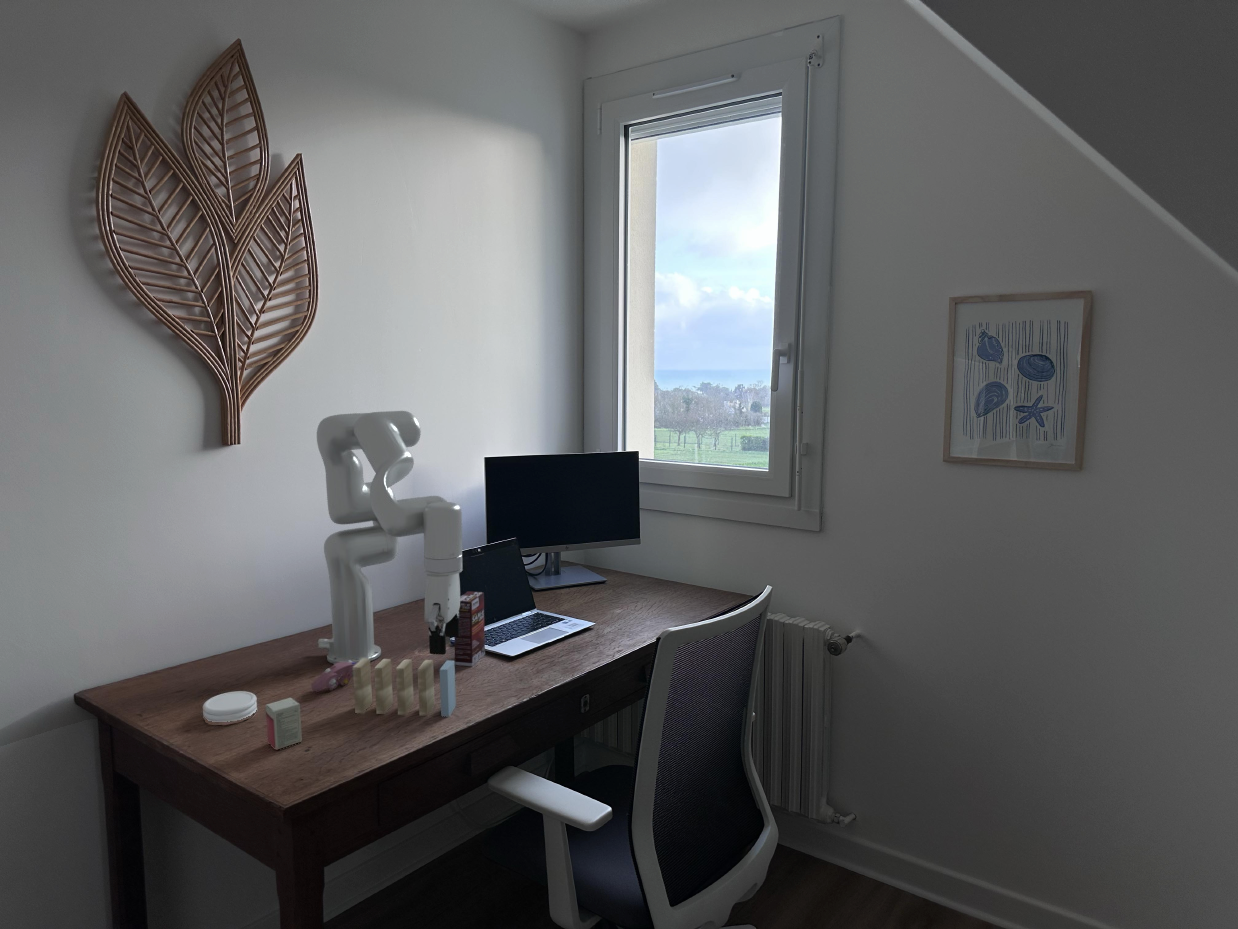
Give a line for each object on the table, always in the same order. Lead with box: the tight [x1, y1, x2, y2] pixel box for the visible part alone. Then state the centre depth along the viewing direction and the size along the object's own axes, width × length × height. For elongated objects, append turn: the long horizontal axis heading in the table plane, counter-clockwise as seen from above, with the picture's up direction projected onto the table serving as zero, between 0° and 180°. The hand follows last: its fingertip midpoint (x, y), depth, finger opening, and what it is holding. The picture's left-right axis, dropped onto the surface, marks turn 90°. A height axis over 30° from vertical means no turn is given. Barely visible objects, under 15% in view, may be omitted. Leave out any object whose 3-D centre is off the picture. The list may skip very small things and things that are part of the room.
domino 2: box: [374, 658, 394, 715], centre depth 167 cm, size 2×5×10 cm, turn 176°
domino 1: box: [352, 658, 373, 714], centre depth 168 cm, size 2×5×10 cm, turn 176°
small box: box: [264, 697, 303, 748], centre depth 153 cm, size 5×4×8 cm
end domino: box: [439, 659, 457, 718], centre depth 166 cm, size 2×5×10 cm, turn 175°
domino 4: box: [417, 659, 435, 717], centre depth 166 cm, size 2×5×10 cm, turn 176°
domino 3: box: [395, 659, 415, 716], centre depth 167 cm, size 2×5×10 cm, turn 176°
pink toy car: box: [311, 660, 356, 693], centre depth 179 cm, size 10×5×7 cm, turn 149°
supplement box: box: [453, 591, 486, 667], centre depth 195 cm, size 9×5×16 cm, turn 168°
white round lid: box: [202, 690, 258, 722], centre depth 165 cm, size 10×10×4 cm
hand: (445, 644), depth 165 cm, fingers open, 9 cm apart
